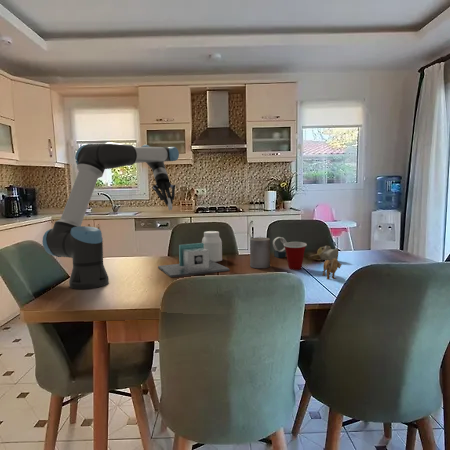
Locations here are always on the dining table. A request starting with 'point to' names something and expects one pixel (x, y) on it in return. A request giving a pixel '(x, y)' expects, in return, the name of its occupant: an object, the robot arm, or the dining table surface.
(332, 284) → the dining table surface
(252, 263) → the pillar candle
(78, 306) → the dining table surface
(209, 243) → the jar
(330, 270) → the lion figurine
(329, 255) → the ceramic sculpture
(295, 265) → the plastic cup
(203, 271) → the block
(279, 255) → the watch
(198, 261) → the teal piece
